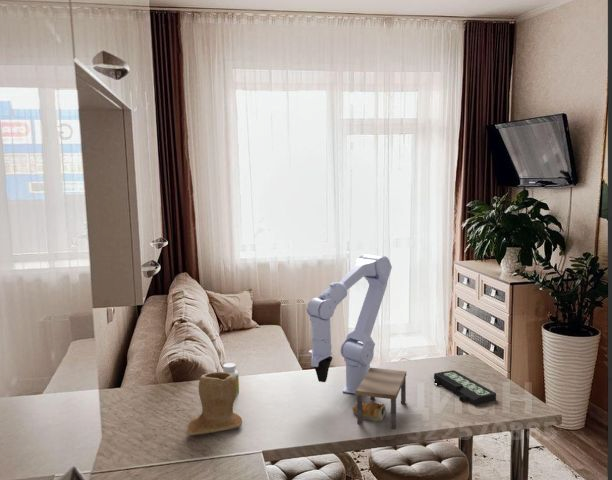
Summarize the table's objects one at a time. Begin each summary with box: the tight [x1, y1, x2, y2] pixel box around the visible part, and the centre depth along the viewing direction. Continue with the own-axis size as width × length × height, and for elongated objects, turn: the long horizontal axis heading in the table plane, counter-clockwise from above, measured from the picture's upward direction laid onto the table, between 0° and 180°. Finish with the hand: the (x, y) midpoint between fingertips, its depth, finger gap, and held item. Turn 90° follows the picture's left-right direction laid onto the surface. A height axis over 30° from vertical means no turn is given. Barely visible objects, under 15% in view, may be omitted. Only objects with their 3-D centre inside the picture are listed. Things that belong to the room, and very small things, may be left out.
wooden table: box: [355, 367, 407, 430], centre depth 150 cm, size 18×11×10 cm, turn 160°
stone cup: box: [187, 371, 243, 436], centre depth 144 cm, size 15×12×15 cm
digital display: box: [433, 370, 497, 406], centre depth 165 cm, size 21×3×10 cm
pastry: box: [352, 402, 387, 422], centre depth 150 cm, size 9×7×4 cm
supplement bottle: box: [222, 362, 240, 397], centre depth 166 cm, size 5×5×10 cm
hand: (322, 381), depth 158 cm, fingers closed
